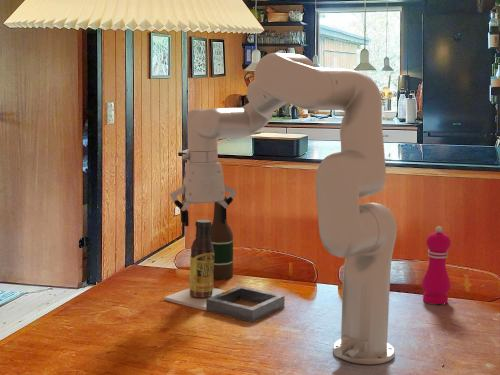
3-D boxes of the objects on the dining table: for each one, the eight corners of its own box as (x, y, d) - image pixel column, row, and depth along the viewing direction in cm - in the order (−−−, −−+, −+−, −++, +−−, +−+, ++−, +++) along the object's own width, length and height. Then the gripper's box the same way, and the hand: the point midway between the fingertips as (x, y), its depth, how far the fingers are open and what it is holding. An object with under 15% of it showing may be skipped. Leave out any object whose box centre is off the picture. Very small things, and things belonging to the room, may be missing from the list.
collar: (252, 322, 154) (252, 308, 153) (206, 310, 162) (206, 297, 161) (284, 307, 165) (284, 294, 165) (239, 296, 173) (239, 284, 173)
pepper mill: (415, 301, 171) (419, 226, 169) (430, 295, 176) (433, 222, 174) (440, 307, 166) (444, 230, 163) (454, 301, 171) (459, 226, 168)
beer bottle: (222, 271, 198) (222, 192, 194) (238, 277, 192) (239, 196, 188) (201, 275, 193) (201, 195, 189) (217, 281, 187) (217, 198, 183)
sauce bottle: (197, 300, 167) (197, 224, 164) (184, 294, 172) (184, 220, 169) (218, 296, 171) (219, 221, 168) (206, 290, 176) (206, 217, 173)
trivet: (206, 310, 162) (206, 307, 162) (164, 299, 170) (164, 296, 170) (239, 296, 173) (239, 293, 173) (198, 287, 181) (198, 284, 181)
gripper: (172, 160, 160) (174, 229, 162) (239, 157, 166) (240, 224, 168) (166, 157, 167) (167, 224, 169) (230, 155, 173) (231, 219, 175)
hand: (203, 224), depth 168 cm, fingers open, 9 cm apart
